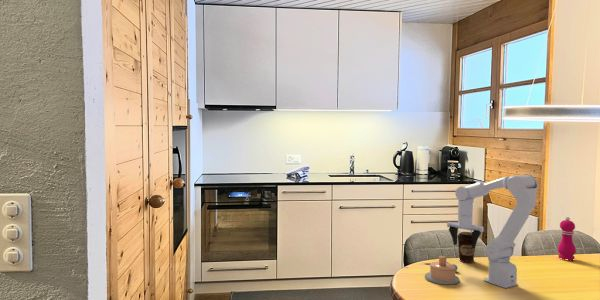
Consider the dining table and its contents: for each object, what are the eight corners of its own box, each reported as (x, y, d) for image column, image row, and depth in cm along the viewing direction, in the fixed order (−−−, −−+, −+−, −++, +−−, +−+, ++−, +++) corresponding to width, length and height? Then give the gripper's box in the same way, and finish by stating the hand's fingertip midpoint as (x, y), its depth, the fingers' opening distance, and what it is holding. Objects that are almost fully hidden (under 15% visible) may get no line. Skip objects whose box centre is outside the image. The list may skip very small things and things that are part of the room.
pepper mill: (575, 258, 188) (576, 216, 188) (576, 262, 182) (577, 219, 182) (557, 256, 192) (558, 214, 192) (557, 259, 186) (558, 217, 186)
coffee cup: (479, 264, 179) (480, 235, 178) (461, 264, 179) (461, 235, 179) (471, 258, 187) (472, 231, 187) (454, 258, 188) (454, 230, 187)
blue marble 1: (452, 269, 172) (452, 262, 171) (447, 270, 170) (447, 263, 170) (446, 267, 174) (446, 260, 174) (441, 268, 173) (441, 261, 173)
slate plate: (466, 281, 157) (466, 279, 157) (443, 287, 151) (443, 285, 151) (440, 271, 168) (440, 269, 168) (417, 276, 162) (417, 274, 162)
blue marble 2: (459, 271, 168) (459, 264, 168) (454, 272, 167) (454, 265, 167) (453, 269, 171) (453, 262, 171) (448, 270, 170) (448, 263, 169)
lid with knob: (460, 278, 158) (460, 258, 158) (444, 282, 153) (445, 262, 153) (440, 271, 166) (440, 252, 166) (424, 275, 161) (425, 255, 161)
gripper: (486, 215, 168) (485, 247, 168) (451, 211, 177) (450, 241, 178) (480, 217, 163) (480, 250, 163) (445, 213, 172) (444, 244, 172)
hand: (464, 246), depth 170 cm, fingers open, 7 cm apart
